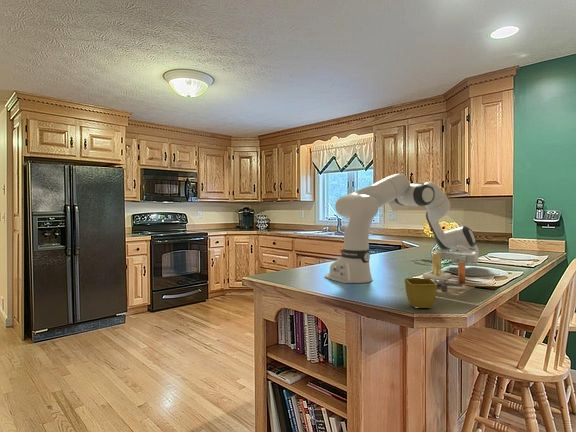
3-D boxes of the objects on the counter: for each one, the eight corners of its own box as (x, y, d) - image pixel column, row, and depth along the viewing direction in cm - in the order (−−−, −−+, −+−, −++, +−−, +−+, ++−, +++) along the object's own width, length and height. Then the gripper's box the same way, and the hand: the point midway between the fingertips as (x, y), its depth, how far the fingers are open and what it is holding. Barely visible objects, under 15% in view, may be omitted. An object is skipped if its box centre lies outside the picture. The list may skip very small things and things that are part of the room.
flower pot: (429, 303, 126) (430, 278, 125) (437, 311, 117) (437, 284, 117) (404, 303, 127) (404, 278, 126) (410, 311, 118) (410, 284, 118)
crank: (433, 285, 144) (433, 262, 143) (433, 282, 148) (433, 260, 148) (465, 287, 140) (465, 264, 139) (464, 285, 144) (464, 262, 143)
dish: (422, 278, 164) (422, 273, 164) (431, 275, 170) (431, 270, 170) (442, 281, 157) (442, 276, 157) (450, 278, 163) (451, 273, 163)
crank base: (412, 288, 146) (412, 281, 146) (431, 281, 158) (431, 274, 158) (457, 296, 133) (457, 289, 133) (475, 288, 145) (475, 281, 145)
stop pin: (431, 277, 164) (430, 253, 163) (434, 275, 166) (434, 252, 165) (438, 278, 161) (438, 254, 160) (442, 276, 163) (442, 253, 163)
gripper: (439, 246, 188) (427, 249, 178) (481, 250, 173) (470, 253, 163) (439, 258, 188) (427, 261, 179) (481, 263, 173) (470, 267, 164)
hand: (448, 257), depth 171 cm, fingers open, 8 cm apart
